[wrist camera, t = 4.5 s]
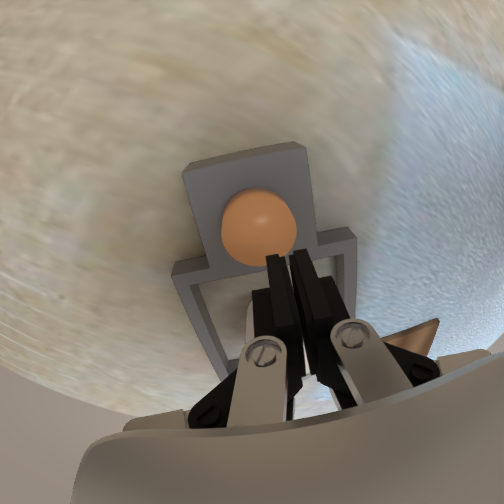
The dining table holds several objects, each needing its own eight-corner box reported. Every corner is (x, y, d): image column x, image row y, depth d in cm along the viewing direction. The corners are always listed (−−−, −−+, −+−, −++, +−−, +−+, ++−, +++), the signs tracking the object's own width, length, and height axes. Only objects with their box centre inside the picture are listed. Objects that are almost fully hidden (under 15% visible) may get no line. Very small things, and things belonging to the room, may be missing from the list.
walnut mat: (437, 317, 31) (439, 321, 30) (415, 373, 37) (417, 377, 37) (347, 348, 31) (349, 352, 30) (342, 399, 38) (343, 403, 37)
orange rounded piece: (278, 173, 19) (291, 190, 15) (287, 228, 21) (300, 258, 17) (217, 185, 19) (212, 206, 15) (231, 240, 21) (231, 272, 17)
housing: (339, 135, 19) (358, 140, 16) (346, 342, 31) (354, 364, 27) (145, 176, 20) (130, 188, 17) (221, 367, 31) (221, 391, 28)
